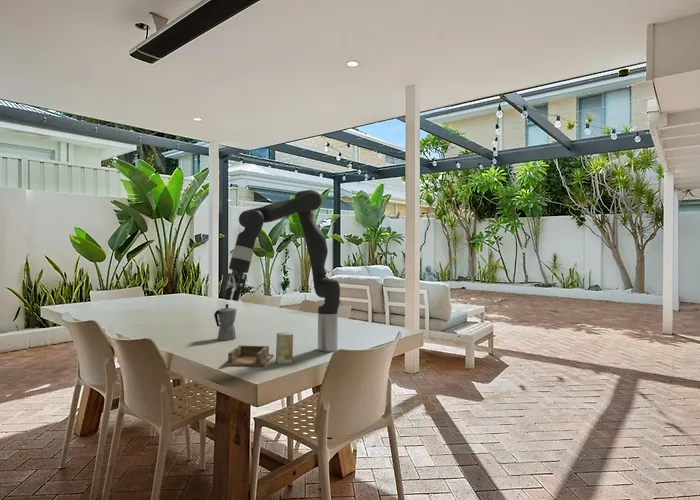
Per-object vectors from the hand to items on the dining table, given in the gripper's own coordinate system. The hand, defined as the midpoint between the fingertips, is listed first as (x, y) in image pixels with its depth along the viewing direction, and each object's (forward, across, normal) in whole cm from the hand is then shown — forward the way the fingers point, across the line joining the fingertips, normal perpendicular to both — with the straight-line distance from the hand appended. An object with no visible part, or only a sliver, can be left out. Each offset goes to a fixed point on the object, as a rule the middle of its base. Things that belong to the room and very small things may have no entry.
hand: (230, 300), depth 167 cm
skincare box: (+20, +3, -30) cm, 37 cm away
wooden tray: (+23, +13, -20) cm, 33 cm away
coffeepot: (+19, +59, -24) cm, 67 cm away
